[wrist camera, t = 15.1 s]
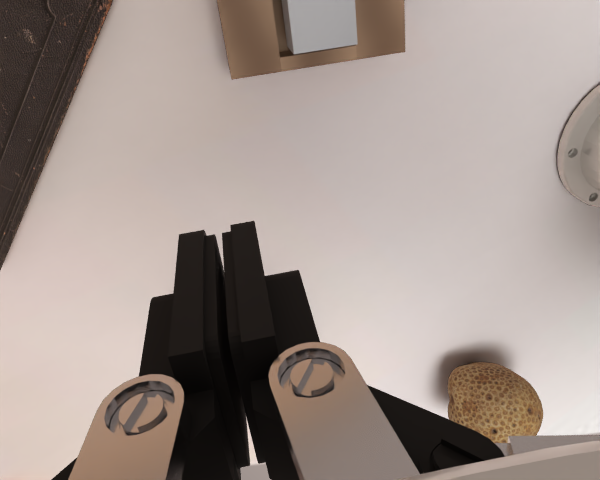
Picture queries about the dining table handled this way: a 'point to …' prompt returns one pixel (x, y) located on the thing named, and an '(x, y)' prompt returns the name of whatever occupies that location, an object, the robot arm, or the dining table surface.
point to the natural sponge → (493, 401)
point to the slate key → (319, 24)
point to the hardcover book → (37, 90)
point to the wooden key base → (278, 57)
